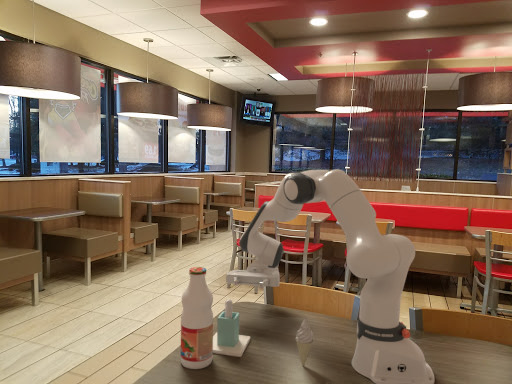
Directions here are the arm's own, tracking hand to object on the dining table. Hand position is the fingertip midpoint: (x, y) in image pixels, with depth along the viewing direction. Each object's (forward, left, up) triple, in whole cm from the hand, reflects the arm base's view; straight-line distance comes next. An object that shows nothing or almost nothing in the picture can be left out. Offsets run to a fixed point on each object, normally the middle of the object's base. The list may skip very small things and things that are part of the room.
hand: (248, 284), depth 134 cm
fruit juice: (+9, +26, -16) cm, 32 cm away
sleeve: (+3, +14, -15) cm, 21 cm away
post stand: (+3, +14, -16) cm, 22 cm away
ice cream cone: (-22, +20, -16) cm, 34 cm away
